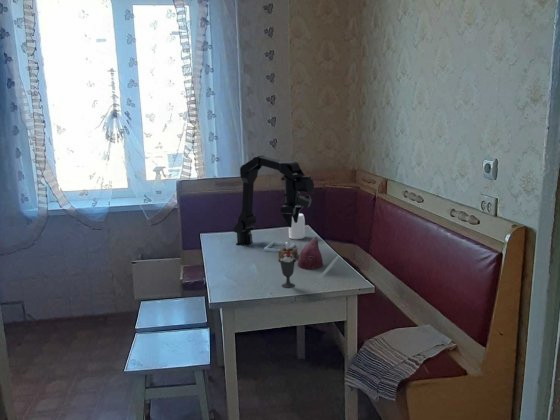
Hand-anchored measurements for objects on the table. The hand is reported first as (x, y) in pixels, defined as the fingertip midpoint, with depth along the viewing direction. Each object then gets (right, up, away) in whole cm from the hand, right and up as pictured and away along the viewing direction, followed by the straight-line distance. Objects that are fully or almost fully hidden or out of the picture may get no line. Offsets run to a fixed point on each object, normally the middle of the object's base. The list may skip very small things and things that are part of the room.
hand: (293, 225), depth 222 cm
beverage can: (+3, -8, +30) cm, 31 cm away
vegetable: (+7, -17, -18) cm, 26 cm away
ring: (-2, -14, -4) cm, 14 cm away
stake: (-2, -15, -4) cm, 15 cm away
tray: (-6, -12, +9) cm, 16 cm away
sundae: (-3, -22, -37) cm, 43 cm away
